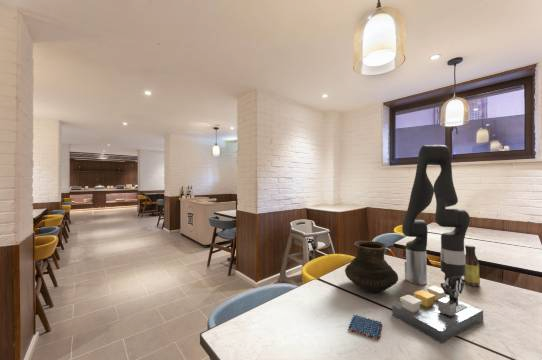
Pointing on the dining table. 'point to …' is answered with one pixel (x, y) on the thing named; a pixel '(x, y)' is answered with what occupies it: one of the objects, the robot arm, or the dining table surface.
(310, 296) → the dining table surface
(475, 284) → the sauce bottle
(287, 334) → the dining table surface
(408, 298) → the button left
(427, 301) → the button mid
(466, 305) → the panel
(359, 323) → the woven mat
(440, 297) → the button right
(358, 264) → the ceramic pot
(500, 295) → the dining table surface
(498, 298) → the dining table surface
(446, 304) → the brushed metal cube
